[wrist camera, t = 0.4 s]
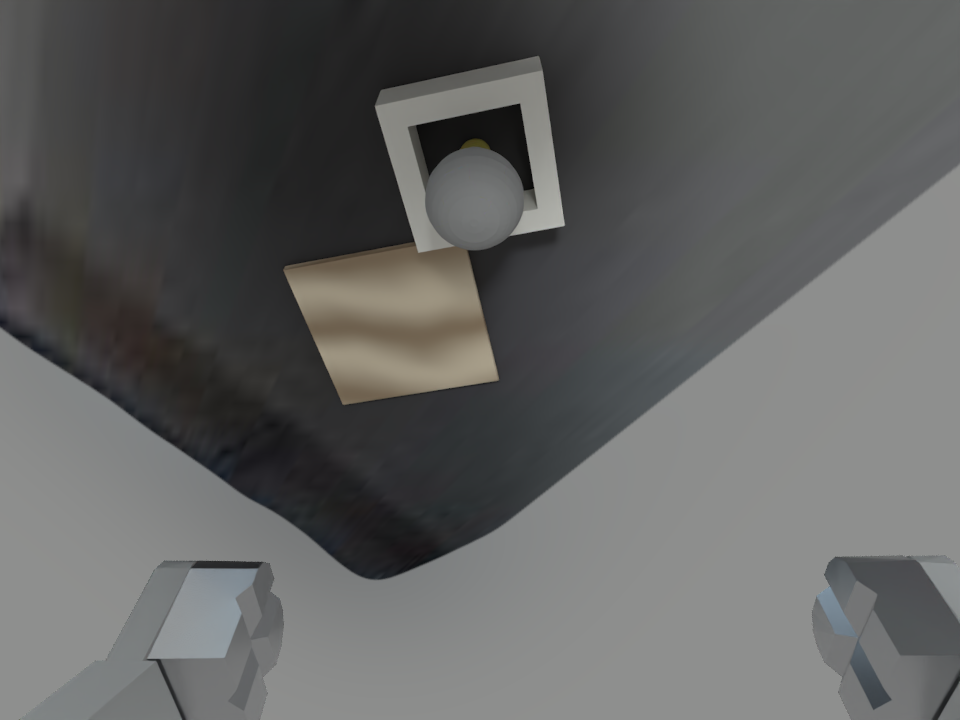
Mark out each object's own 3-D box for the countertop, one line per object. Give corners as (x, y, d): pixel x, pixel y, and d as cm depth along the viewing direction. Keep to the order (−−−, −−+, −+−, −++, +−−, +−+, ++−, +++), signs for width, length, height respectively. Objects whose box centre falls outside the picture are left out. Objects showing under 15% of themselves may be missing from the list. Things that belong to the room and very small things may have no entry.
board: (285, 266, 48) (283, 270, 48) (463, 232, 47) (463, 236, 46) (344, 399, 56) (342, 404, 56) (498, 375, 55) (498, 380, 54)
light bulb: (526, 115, 42) (537, 182, 34) (508, 197, 45) (514, 275, 37) (438, 99, 41) (428, 164, 33) (427, 183, 44) (415, 260, 37)
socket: (380, 90, 41) (374, 106, 38) (538, 55, 40) (542, 70, 37) (421, 231, 47) (418, 252, 44) (560, 205, 45) (564, 225, 43)
